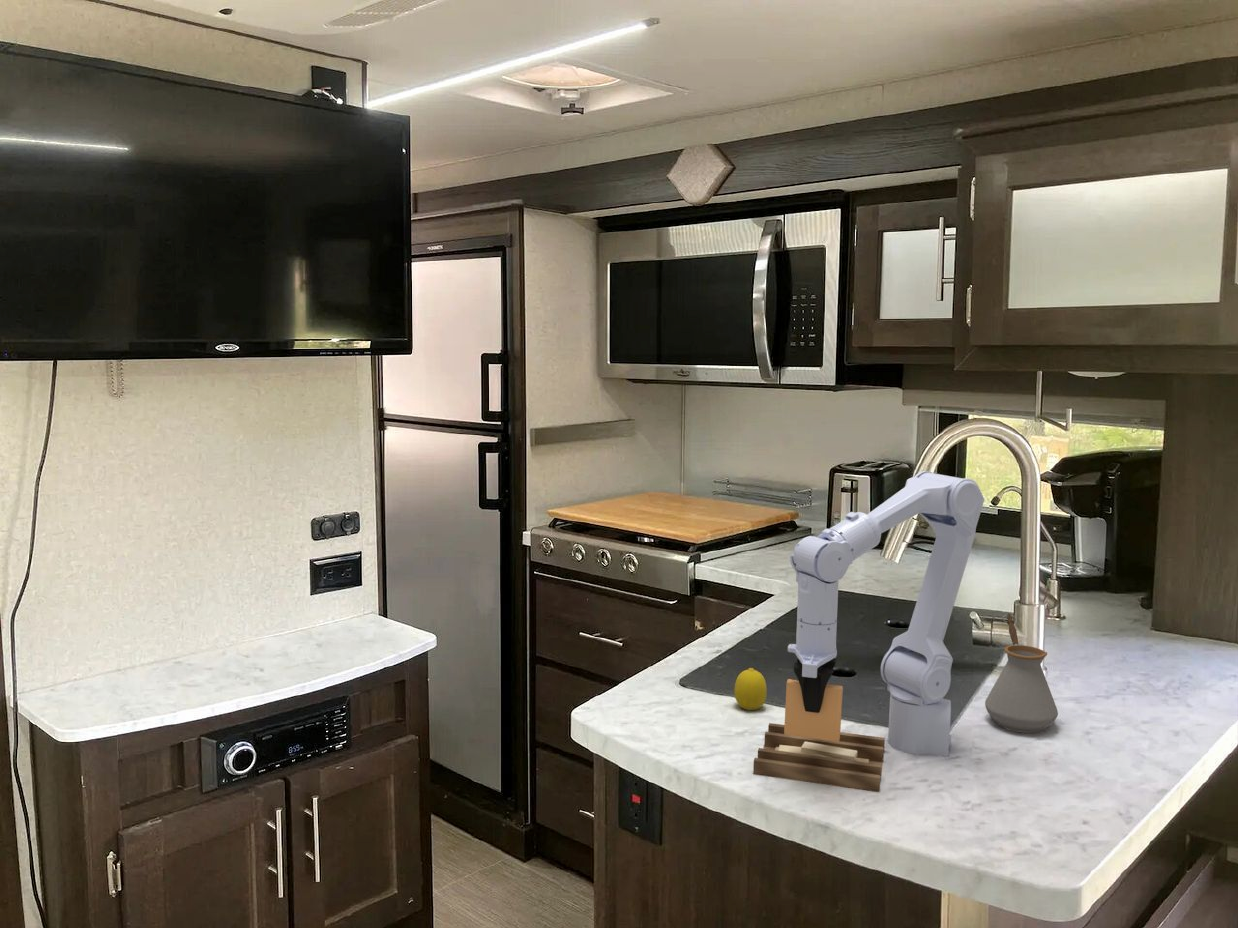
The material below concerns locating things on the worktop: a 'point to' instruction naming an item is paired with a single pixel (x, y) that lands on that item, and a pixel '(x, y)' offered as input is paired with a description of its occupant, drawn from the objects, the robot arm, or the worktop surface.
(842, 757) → the offcut stack
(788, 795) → the worktop surface
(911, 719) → the robot arm
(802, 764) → the rack
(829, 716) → the orange square slab
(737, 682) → the lemon
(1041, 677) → the coffee pot
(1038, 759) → the worktop surface
